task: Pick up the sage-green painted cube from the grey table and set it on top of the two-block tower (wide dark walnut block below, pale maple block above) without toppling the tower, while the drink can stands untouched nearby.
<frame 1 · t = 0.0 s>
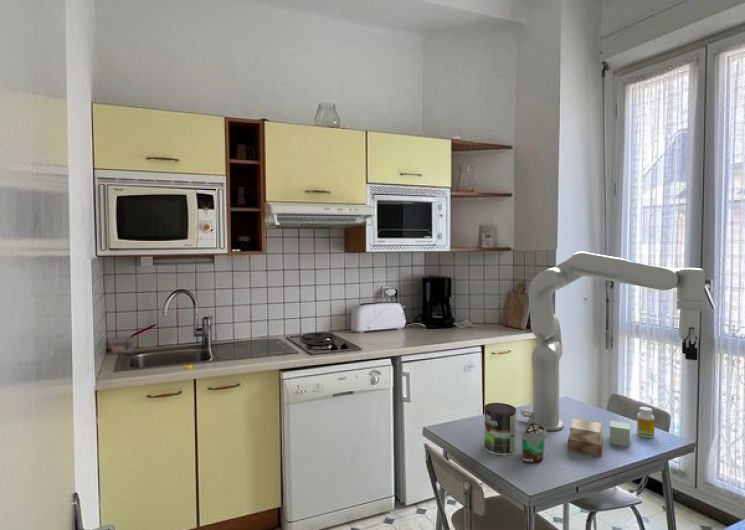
hand: (689, 356, 151), 31 cm above the table, tool pointing down, fingers open, 9 cm apart
sage block: (619, 442, 158), on the table
maple block: (585, 437, 154), point 4 cm above the table, touching walnut block
coffee can: (499, 449, 153), on the table
supplement bottle: (645, 435, 164), on the table
food container: (536, 460, 145), on the table
walnut block: (585, 448, 154), on the table, touching maple block
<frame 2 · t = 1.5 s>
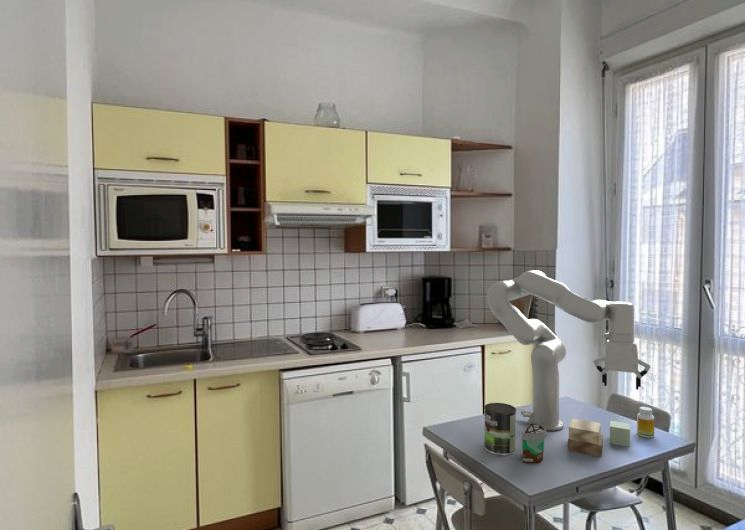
hand: (621, 386, 158), 19 cm above the table, tool pointing down, fingers open, 9 cm apart
maple block: (584, 436, 154), point 4 cm above the table
walnut block: (585, 448, 154), on the table
everything else where it was.
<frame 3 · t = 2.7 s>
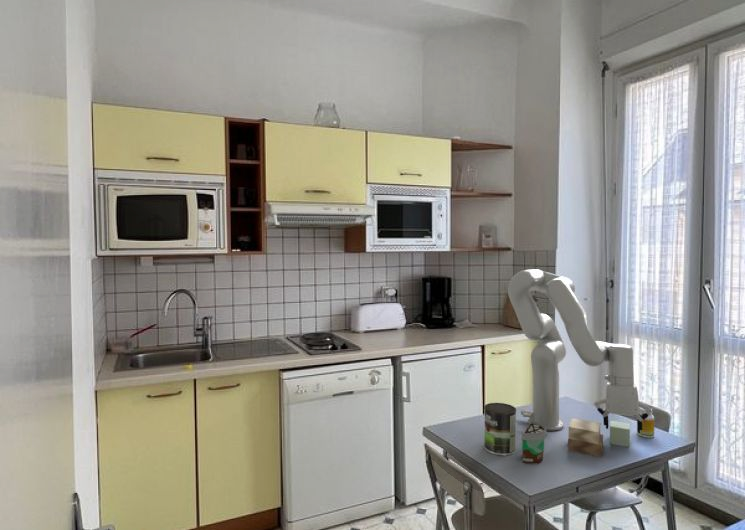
hand: (622, 429, 158), 4 cm above the table, tool pointing down, fingers open, 9 cm apart
nothing on the table moved.
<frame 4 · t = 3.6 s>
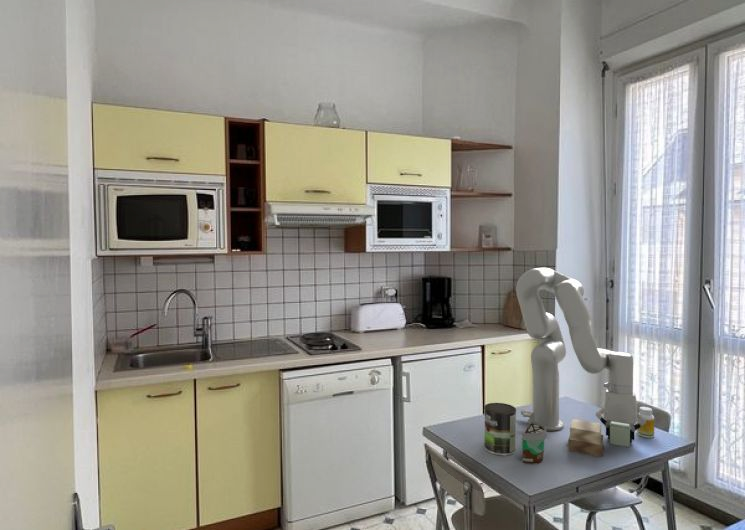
hand: (619, 439, 158), 1 cm above the table, tool pointing down, fingers closed on sage block, 6 cm apart
sage block: (619, 441, 158), on the table, touching gripper
everything else where it was.
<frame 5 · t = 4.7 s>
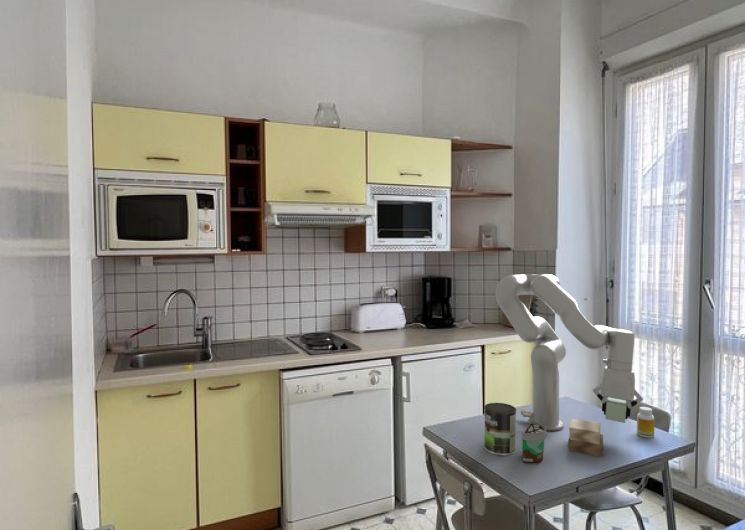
hand: (615, 415, 159), 9 cm above the table, tool pointing down, fingers closed on sage block, 6 cm apart
sage block: (615, 418, 159), point 8 cm above the table, touching gripper
maple block: (585, 436, 154), point 4 cm above the table, touching walnut block
walnut block: (585, 448, 154), on the table, touching maple block
everything else where it was.
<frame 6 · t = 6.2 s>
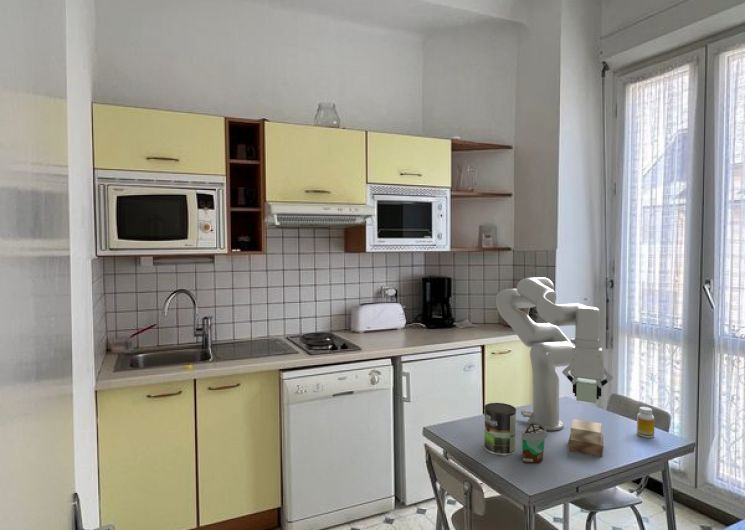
hand: (586, 396, 153), 17 cm above the table, tool pointing down, fingers closed on sage block, 6 cm apart
sage block: (586, 399, 153), point 16 cm above the table, touching gripper
everything else where it was.
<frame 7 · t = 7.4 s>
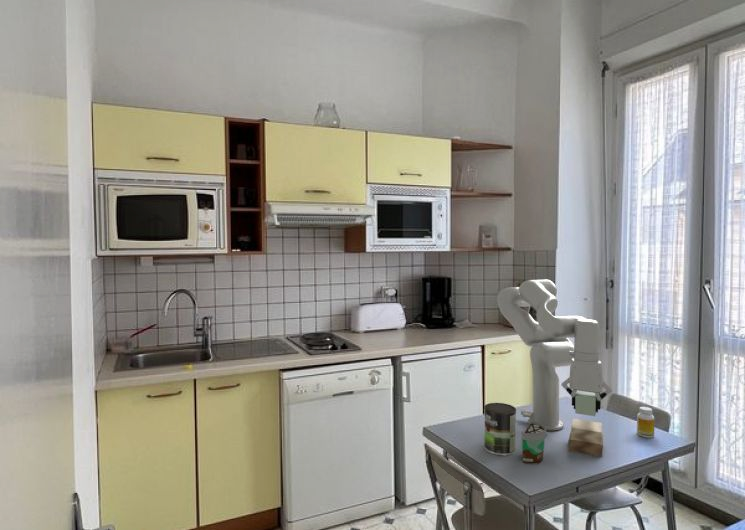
hand: (585, 409, 153), 13 cm above the table, tool pointing down, fingers closed on sage block, 6 cm apart
sage block: (585, 412, 153), point 12 cm above the table, touching gripper
everything else where it was.
when the fingers open (10 cm above the table, at t = 8.5 s): sage block drops 1 cm, resting on maple block.
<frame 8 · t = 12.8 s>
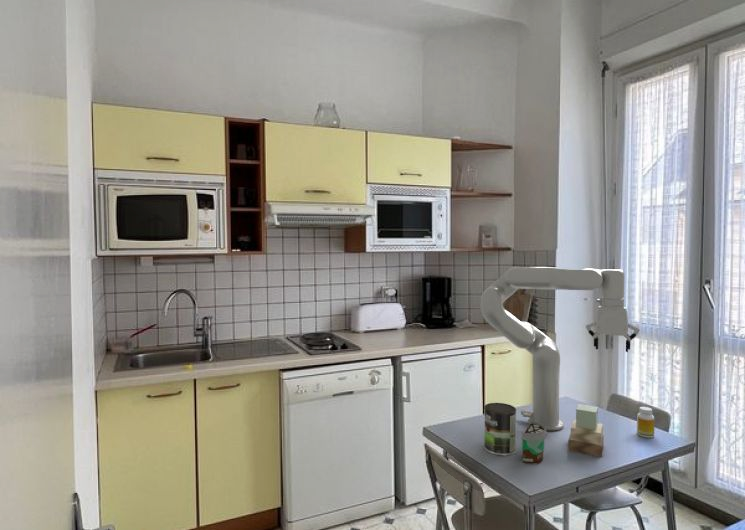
hand: (611, 349, 166), 30 cm above the table, tool pointing down, fingers open, 9 cm apart
sage block: (586, 425, 154), point 8 cm above the table, touching maple block
maple block: (586, 437, 153), point 4 cm above the table, touching sage block
walnut block: (586, 449, 154), on the table
everything else where it was.
at the end: sage block inside the target area on the maple block (0.2 cm from its centre), point 4.0 cm above the maple block's base; sage block tilted 0°; maple block 0.2 cm off-centre on the walnut block, point 4.0 cm above the walnut block's base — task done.
